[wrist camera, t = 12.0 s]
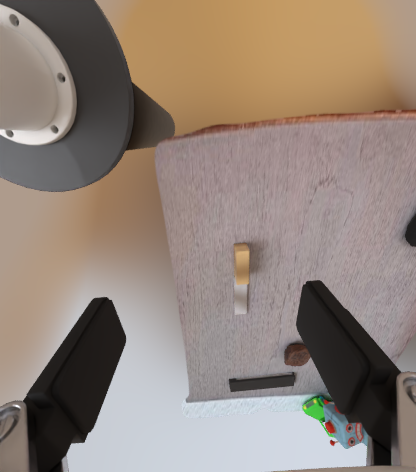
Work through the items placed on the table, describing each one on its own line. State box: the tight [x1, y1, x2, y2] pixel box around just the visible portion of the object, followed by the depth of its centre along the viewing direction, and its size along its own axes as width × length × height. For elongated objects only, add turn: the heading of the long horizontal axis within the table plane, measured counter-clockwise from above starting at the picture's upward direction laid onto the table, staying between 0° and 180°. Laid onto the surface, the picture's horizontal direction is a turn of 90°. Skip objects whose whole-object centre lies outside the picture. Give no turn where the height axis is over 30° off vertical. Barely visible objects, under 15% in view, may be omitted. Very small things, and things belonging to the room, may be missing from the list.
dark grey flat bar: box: [229, 372, 295, 392], centre depth 54 cm, size 18×1×5 cm
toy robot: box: [323, 400, 368, 449], centre depth 52 cm, size 13×11×30 cm
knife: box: [234, 243, 249, 315], centre depth 37 cm, size 17×3×3 cm, turn 4°
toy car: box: [302, 396, 334, 437], centre depth 57 cm, size 11×7×7 cm, turn 59°
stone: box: [284, 344, 311, 366], centre depth 47 cm, size 7×7×3 cm
